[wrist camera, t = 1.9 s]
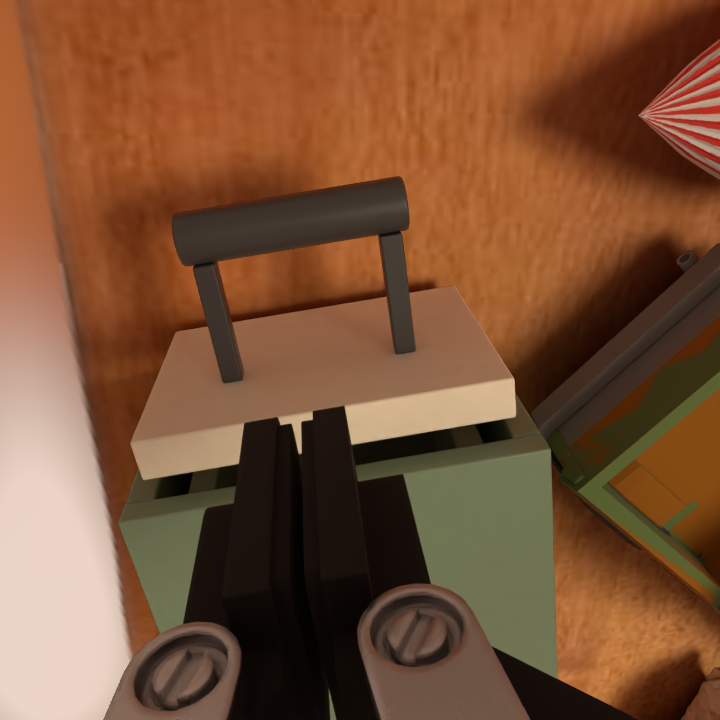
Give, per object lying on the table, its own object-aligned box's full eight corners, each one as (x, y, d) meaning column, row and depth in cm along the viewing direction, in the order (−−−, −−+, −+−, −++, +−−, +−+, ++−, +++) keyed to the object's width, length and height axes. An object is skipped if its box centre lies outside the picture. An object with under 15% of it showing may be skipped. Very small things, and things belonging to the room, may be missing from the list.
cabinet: (174, 365, 25) (116, 523, 17) (469, 316, 26) (552, 449, 17) (252, 630, 31) (236, 841, 23) (491, 588, 31) (560, 783, 23)
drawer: (134, 190, 22) (64, 257, 15) (442, 140, 22) (505, 184, 15) (251, 597, 29) (238, 759, 23) (479, 557, 29) (532, 708, 23)
